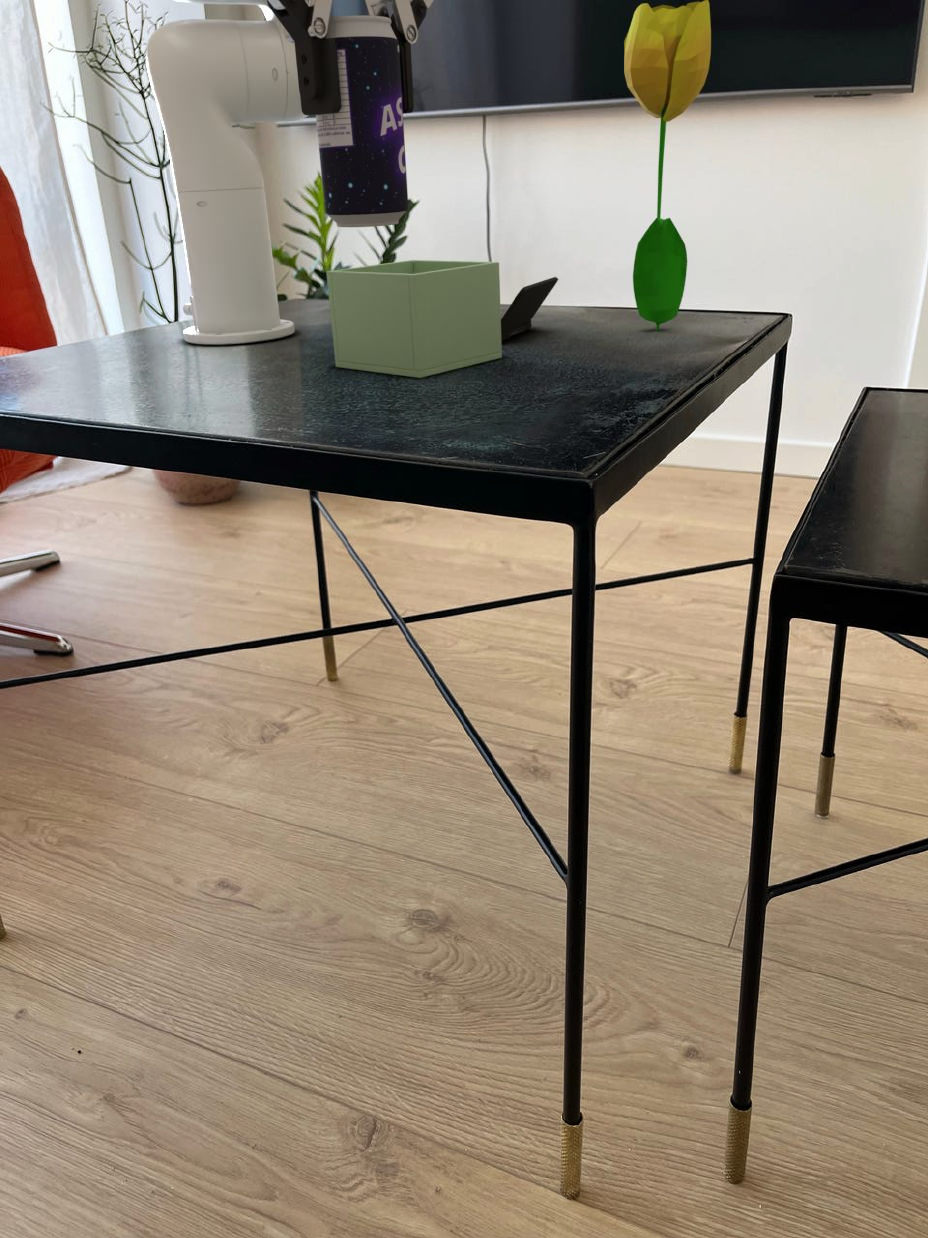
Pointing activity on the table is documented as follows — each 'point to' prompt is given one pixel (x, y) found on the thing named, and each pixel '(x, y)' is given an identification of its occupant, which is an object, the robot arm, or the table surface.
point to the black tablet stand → (525, 307)
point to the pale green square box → (415, 316)
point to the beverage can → (364, 127)
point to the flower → (664, 86)
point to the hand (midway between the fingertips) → (359, 110)
